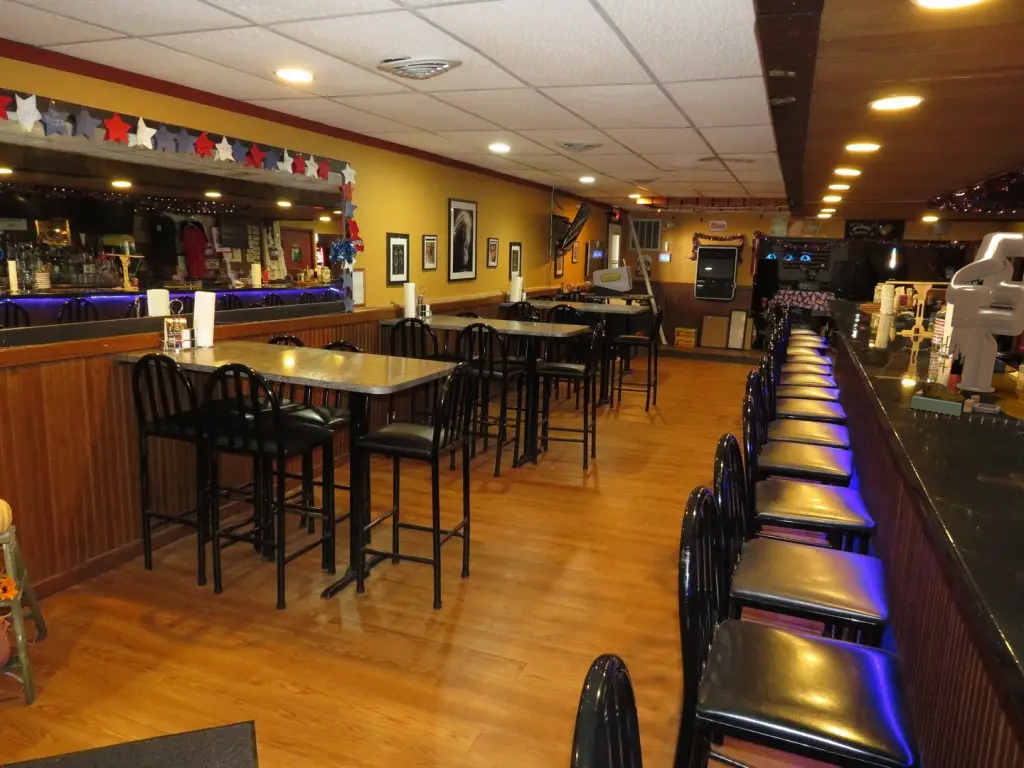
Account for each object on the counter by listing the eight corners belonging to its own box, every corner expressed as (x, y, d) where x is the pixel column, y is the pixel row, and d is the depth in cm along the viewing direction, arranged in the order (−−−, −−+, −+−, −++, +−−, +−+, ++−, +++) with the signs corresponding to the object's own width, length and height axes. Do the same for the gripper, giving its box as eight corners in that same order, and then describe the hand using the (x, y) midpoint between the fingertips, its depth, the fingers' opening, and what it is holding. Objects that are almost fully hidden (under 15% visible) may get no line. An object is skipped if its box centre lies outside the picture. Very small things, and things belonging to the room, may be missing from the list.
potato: (961, 411, 231) (965, 388, 229) (917, 404, 239) (921, 381, 238) (965, 407, 237) (969, 384, 235) (922, 400, 245) (926, 378, 244)
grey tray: (978, 407, 238) (978, 402, 238) (1000, 410, 234) (1001, 406, 234) (972, 411, 232) (973, 406, 231) (995, 414, 228) (996, 410, 227)
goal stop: (911, 407, 234) (913, 396, 233) (959, 415, 225) (961, 403, 224) (910, 408, 233) (912, 396, 232) (958, 416, 224) (960, 404, 223)
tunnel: (922, 397, 251) (924, 387, 250) (978, 406, 240) (979, 396, 239) (913, 403, 241) (914, 393, 240) (970, 412, 230) (971, 402, 229)
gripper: (956, 319, 248) (948, 369, 253) (946, 324, 238) (938, 376, 242) (980, 321, 243) (972, 372, 248) (972, 326, 233) (963, 379, 237)
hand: (956, 374), depth 245 cm, fingers closed
